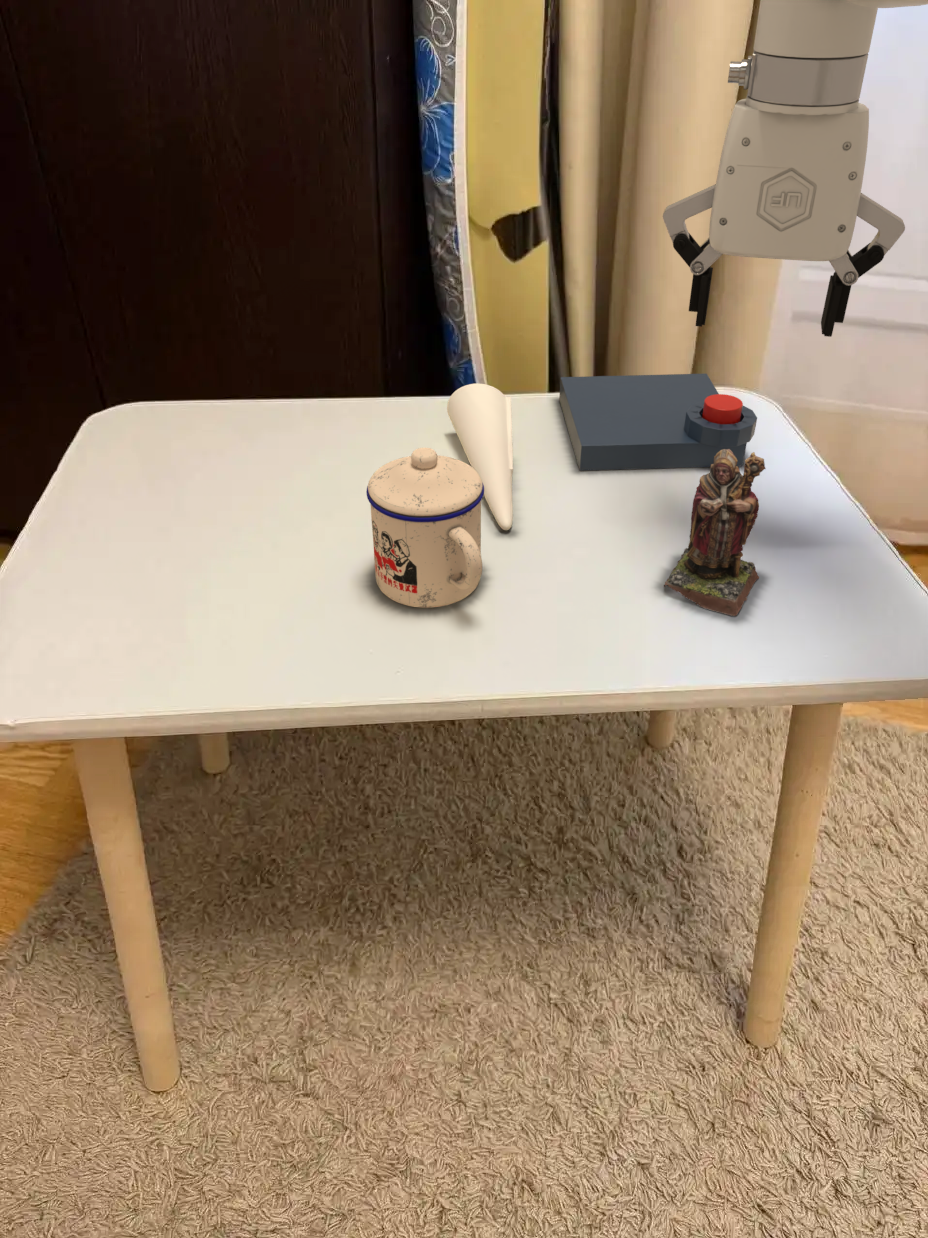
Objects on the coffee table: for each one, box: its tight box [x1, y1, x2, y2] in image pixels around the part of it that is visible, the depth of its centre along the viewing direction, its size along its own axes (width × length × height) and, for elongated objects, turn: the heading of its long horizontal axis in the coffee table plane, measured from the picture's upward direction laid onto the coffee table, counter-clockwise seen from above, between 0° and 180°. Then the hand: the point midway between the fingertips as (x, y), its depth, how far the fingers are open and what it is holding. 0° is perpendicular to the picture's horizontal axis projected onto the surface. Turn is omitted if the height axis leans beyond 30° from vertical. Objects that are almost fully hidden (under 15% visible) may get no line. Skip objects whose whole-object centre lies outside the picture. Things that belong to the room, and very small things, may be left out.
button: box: [702, 393, 744, 424], centre depth 95 cm, size 4×4×2 cm
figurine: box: [663, 449, 766, 617], centre depth 77 cm, size 6×6×12 cm
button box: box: [558, 373, 758, 472], centre depth 101 cm, size 17×17×4 cm
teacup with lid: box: [366, 447, 484, 609], centre depth 77 cm, size 12×9×12 cm
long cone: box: [446, 383, 514, 531], centre depth 94 cm, size 6×6×19 cm
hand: (762, 325), depth 78 cm, fingers open, 9 cm apart
